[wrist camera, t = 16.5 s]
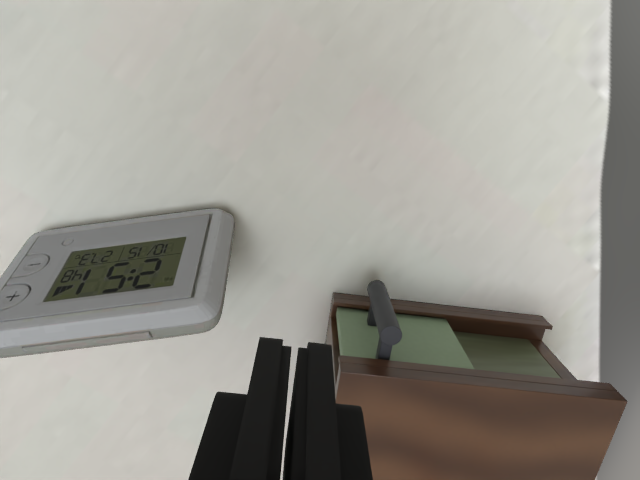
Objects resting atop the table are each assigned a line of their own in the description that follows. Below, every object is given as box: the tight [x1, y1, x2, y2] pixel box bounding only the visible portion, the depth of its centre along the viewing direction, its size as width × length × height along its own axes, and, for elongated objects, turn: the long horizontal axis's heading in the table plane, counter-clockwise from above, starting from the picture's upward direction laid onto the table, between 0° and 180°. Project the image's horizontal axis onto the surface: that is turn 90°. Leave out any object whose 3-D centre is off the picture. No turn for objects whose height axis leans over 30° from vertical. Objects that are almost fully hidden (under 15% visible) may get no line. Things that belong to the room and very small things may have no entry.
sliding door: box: [336, 280, 474, 369], centre depth 32 cm, size 4×9×8 cm, turn 82°
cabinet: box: [325, 293, 627, 480], centre depth 34 cm, size 12×18×11 cm, turn 83°
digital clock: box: [0, 208, 235, 358], centre depth 31 cm, size 16×9×11 cm, turn 86°
